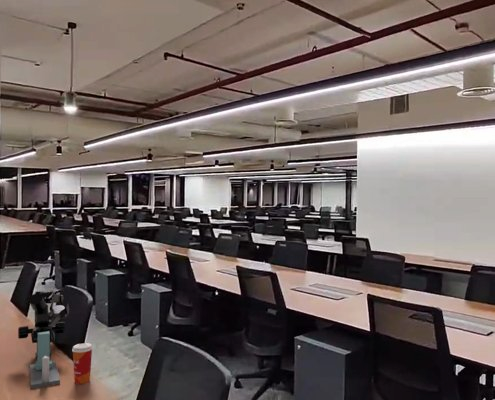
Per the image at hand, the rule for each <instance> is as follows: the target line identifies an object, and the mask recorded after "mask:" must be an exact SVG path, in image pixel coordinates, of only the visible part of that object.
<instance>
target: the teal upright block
mask: <svg viewBox="0 0 495 400" xmlns="http://www.w3.org/2000/svg"><path fill="white" fill-rule="evenodd" d="M50 351H51V343H50V333H49V331H47V332H39V333H38V358H37V361H35V363H34V364H35V367H36V370H42V358H43V357H44V356H47V357H49V368H52V359H50V357H51V356H50Z"/></svg>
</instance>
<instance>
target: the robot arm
mask: <svg viewBox="0 0 495 400" xmlns="http://www.w3.org/2000/svg"><path fill="white" fill-rule="evenodd" d="M29 296H30V297H29V298H28V303H29V305H30V306H31V309H32V310H33V311H34V327H33V328H29V325H24V326H23V325H22V326H19V327H18V329H17V330H18V331H17V332H18V333H17V334H18V337H17V338H18V339H20V340H21V339H27V338H28V337H29V335H30V336H31V343H32V344H36V352H35V358H37V359H38V333H39V332H47V331H49V333H50V344H51V343H53V342H55V340H56V339H55V338H56V334H57V335H61V334H65V333H66V322H65V321H60V319H64V318H67V316H68V315H69V314H70V306H69V302H68V301H67V300H66V299H65V298H64V295H63V294H58V293H57V294H56V293H55V292H54V291H53V290H42V291H41V290H39V291H35V293H34V294H32V295H29ZM56 303H57V304H56ZM58 303H59V305H58ZM49 304H50V306H49ZM54 304H56V305H54ZM60 304H61V305H60ZM51 356H52V351H51V350H50V357H51Z"/></svg>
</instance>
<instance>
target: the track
mask: <svg viewBox="0 0 495 400" xmlns="http://www.w3.org/2000/svg"><path fill="white" fill-rule="evenodd" d="M51 361H52V360H51ZM29 373H30V374H29V376H30V388H31V389H39V388H44V387H50V386H56V385H60V384H61V379H60V375H59V369H58V365H57V362H56V360H53V361H52V368H49V357H47V356H44V357H43V358H42V370H36V367H35V363H33V364H29Z"/></svg>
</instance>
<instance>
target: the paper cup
mask: <svg viewBox="0 0 495 400" xmlns="http://www.w3.org/2000/svg"><path fill="white" fill-rule="evenodd" d="M71 351H72V360H73V377H74V384H76V385H84V384H85V385H86V384H88V383H89V382H90V381H91V372H92V369H91V368H92V357H93V355H92V354H93V345H92V344H91V343H89V342H88V343H87V342H86V343H84V342H83V343H77V344H75V345H73V346H72V350H71Z"/></svg>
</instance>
